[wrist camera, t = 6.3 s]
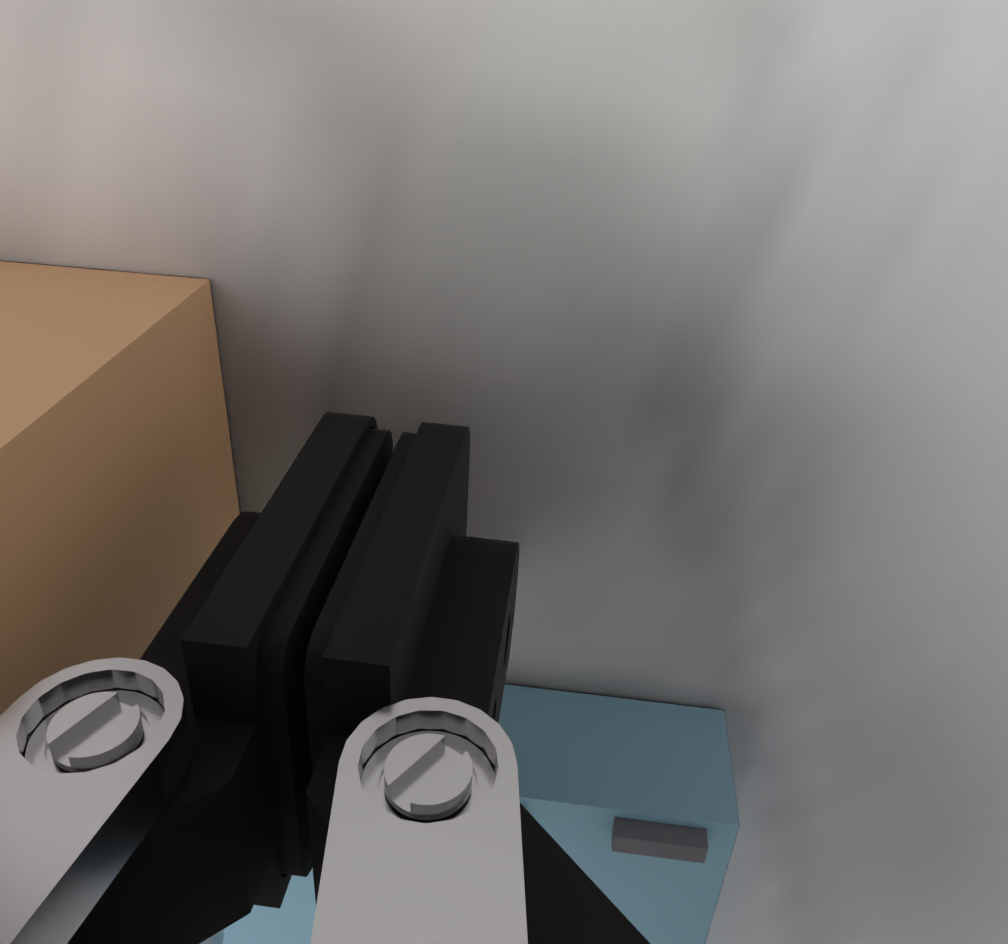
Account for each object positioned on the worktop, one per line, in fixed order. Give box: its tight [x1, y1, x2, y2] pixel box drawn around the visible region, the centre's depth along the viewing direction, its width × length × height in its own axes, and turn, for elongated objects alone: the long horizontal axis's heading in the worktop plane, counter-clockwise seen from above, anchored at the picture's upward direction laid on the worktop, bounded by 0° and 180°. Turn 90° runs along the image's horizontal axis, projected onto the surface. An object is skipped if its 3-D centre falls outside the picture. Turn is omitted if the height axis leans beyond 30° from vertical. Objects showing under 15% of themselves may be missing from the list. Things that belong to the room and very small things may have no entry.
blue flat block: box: [222, 684, 740, 944], centre depth 15 cm, size 14×9×2 cm, turn 87°
